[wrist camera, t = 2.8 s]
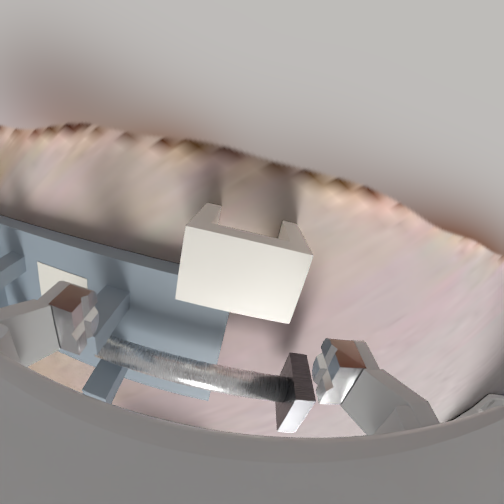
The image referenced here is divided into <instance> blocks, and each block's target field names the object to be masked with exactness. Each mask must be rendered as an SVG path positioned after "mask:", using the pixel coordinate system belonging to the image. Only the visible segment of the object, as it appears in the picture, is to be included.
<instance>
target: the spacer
mask: <svg viewBox="0 0 504 504" xmlns="http://www.w3.org/2000/svg"><path fill="white" fill-rule="evenodd" d="M221 207H222V206H220V205H215V204H211V203H206V204H205V205H204V206H203V208H202V209H201V210H200V211H199V212H198V213H197V214H196V215H195V216H194V217H193V218H192V219H191V221H190V222H189V223H188V224H187V225H186V227H185V233H184V239H183V246H182V252H181V259H180V266H179V273H178V281H177V288H176V296H175V299H177V300H181V301H185V302H189V303H193V304H197V305H201V306H206V307H210V308H214V309H218V310H223V311H227V312H232V313H236V314H241V315H246V316H251V317H256V318H260V319H265V320H271V321H276V322H281V323H286V324H289V323H290V321H291V318H292V315H293V313H294V310H295V307H296V304H297V302H298V299H299V296H300V293H301V291H302V288H303V285H304V282H305V279H306V276H307V273H308V270H309V267H310V265H311V262H312V259H313V254H312V252H311V250H310V248H309V246H308V244H307V242H306V240H305V238H304V236H303V234H302V232H301V230H300V228H299V226H298V224H295V223H291V222H287V221H282V225H281V229H280V232H279V236H278V239H277V238H273V237H269V236H265V235H260V234H256V233H252V232H248V231H243V230H239V229H235V228H230V227H226V226H222V225H218V221H219V217H220V212H221Z"/></svg>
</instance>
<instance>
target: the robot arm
mask: <svg viewBox="0 0 504 504" xmlns="http://www.w3.org/2000/svg"><path fill="white" fill-rule="evenodd" d="M97 302H98V300H97V293H96V292H95V291H93V290H90V289H87V288H84V287H81V286H78V285H75V284H72V283H69V282H66V281H59V282H57V283H56V284H55V285H54V286H53V287H52V288H50V289H49V290H48V291H47V292H46V293H45V294H43V295H42V296H41V297H40V298H39V299H38V300H35V299H32V300H28V301H25V302H21V303H17V304H13V305H9V306H6V307H2V308H0V504H504V395H496V394H489V395H487V396H486V397H485V398H483V399H482V400H481V401H480V402H479V403H478V404H476V405H475V406H474V407H473V408H471V409H470V410H468V411H467V412H465V413H464V414H462V415H460V416H459V417H457V418H456V419H454V420H452V421H448V422H444V423H439V421H438V419H437V417H436V415H435V413H434V411H433V409H432V408H431V406H430V404H429V402H428V401H426V400H425V399H424V398H422V397H421V396H419V395H418V394H417V393H415V392H414V391H412V390H411V389H410V388H408V387H407V386H405V385H404V384H403V383H401V382H400V381H398V380H397V379H396V378H394V377H393V376H392V375H390V374H389V373H387V372H386V371H385V370H383V369H379V367H378V365H377V363H376V361H375V359H374V357H373V355H372V353H371V351H370V349H369V347H368V346H367V344H366V342H364V341H355V340H351V341H350V340H339V339H329V338H326V339H325V340H324V341H323V344H322V346H321V349H322V353H321V354H319V355H318V356H317V357H316V359H315V361H314V364H313V369H312V376H313V380H314V382H315V383H316V384H317V385H318V387H317V389H316V393H317V397H318V401H319V404H335V405H341V407H342V408H343V409H344V410H345V411H346V412H347V413H348V415H349V416H350V417H351V418H352V419H353V420H354V421H355V422H356V423H357V425H358V426H359V427H360V428H361V429H362V430H363V431H364V432H365V433H366V434H367V435H365V436H352V437H332V438H293V437H272V436H259V435H249V434H240V433H232V432H224V431H218V430H211V429H206V428H200V427H195V426H190V425H185V424H180V423H176V422H171V421H167V420H163V419H159V418H155V417H151V416H148V415H144V414H141V413H137V412H134V411H130V410H127V409H124V408H121V407H118V406H115V405H112V404H109V403H106V402H104V401H101V400H98V399H95V398H93V397H90V396H88V395H85V394H83V393H80V392H78V391H75V390H73V389H71V388H68V387H66V386H64V385H62V384H60V383H57V382H55V381H53V380H51V379H49V378H47V377H45V376H43V375H41V374H39V373H37V372H35V371H33V370H31V369H29V368H28V366H30V365H32V364H34V363H35V362H37V361H39V360H41V359H43V358H45V357H47V356H49V355H51V354H52V353H54V352H56V351H58V350H60V348H61V349H63V350H66V351H68V352H71V353H74V354H77V355H80V354H81V352H82V351H83V350H84V348H85V347H86V345H87V339H88V338H90V337H93V335H94V334H95V332H96V330H97V327H98V323H99V312H98V311H97V309H96V308H95V305H96V303H97Z"/></svg>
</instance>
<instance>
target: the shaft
mask: <svg viewBox="0 0 504 504" xmlns="http://www.w3.org/2000/svg"><path fill="white" fill-rule="evenodd" d="M94 355H95V357H97V358H100V359H103V360H105V361H108V362H111V363H113V364H116V365H119V366H122V367H125V368H128V369H131V370H134V371H137V372H140V373H143V374H147V375H150V376H153V377H157V378H160V379H164V380H167V381H171V382H175V383H179V384H183V385H187V386H191V387H195V388H200V389H204V390H209V391H213V392H218V393H223V394H229V395H234V396H240V397H246V398H252V399H259V400H266V401H274V402H275V403H276V421H277V432H287V433H295V432H296V431H297V429H298V428H299V426H300V425H301V423H302V422H303V420H304V419H305V417H306V416H307V414H308V413H309V411H310V410H311V408H312V407H313V405H314V403H315V402H316V400H315V394H314V389H313V384H312V379H311V374H310V370H309V365H308V360H307V355H304V354H297V353H289V355H288V358H287V360H286V362H285V365H284V367H283V369H282V371H281V374H280V376H278V375H271V374H264V373H258V372H252V371H247V370H241V369H236V368H231V367H226V366H221V365H216V364H212V363H207V362H203V361H198V360H194V359H190V358H186V357H182V356H178V355H174V354H171V353H167V352H163V351H160V350H156V349H153V348H149V347H146V346H143V345H139V344H136V343H133V342H130V341H127V340H124V339H121V338H118V337H115V336H112V335H110V337H109V338H108V340H107V341H106V343H105V344H104V346H103V347H102V349H101V350H100V352H99V353H98V355H96V354H94Z"/></svg>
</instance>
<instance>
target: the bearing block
mask: <svg viewBox="0 0 504 504" xmlns="http://www.w3.org/2000/svg"><path fill="white" fill-rule="evenodd" d="M179 266H180V264H177V263H173V262H169V261H165V260H161V259H157V258H153V257H149V256H145V255H141V254H137V253H133V252H129V251H125V250H121V249H118V248H114V247H110V246H106V245H102V244H99V243H95V242H91V241H88V240H84V239H80V238H77V237H73V236H70V235H66V234H62V233H59V232H55V231H52V230H48V229H45V228H42V227H38V226H35V225H31V224H28V223H25V222H21V221H18V220H15V219H11V218H8V217H5V216H2V215H0V308H2V307H6V306H9V305H13V304H17V303H21V302H25V301H28V300H32V299H35V300H38V299H39V298H40V297H41V296H42V295H43V294H45V293H46V292H47V291H48V290H49V289H50V288H52V287H53V286H54V285H55V284H56V283H57V282H59V281H66V282H69V283H72V284H75V285H78V286H81V287H84V288H87V289H90V290H93V291H95V292H96V293H97V300H98V302H97V303H96V305H95V308H96V309H97V311H98V312H99V323H98V327H97V330H96V332H95V334H94V335H93V337H90V338H88V339H87V345H86V347H85V348H84V350H83V351H82V352H81V354H80V355H77V354H74V353H71V352H68V351H66V350H63V349H61V348H60V350H58V351H59V352H61V353H63V354H66V355H68V356H70V357H72V358H74V359H77V360H79V361H81V362H84V363H86V364H89V365H91V366H94V367H96V368H95V369H94V371H93V373H92V374H91V376H90V377H89V379H88V381H87V382H86V384H85V386H84V387H83V389H82V391H83V394H85V395H88V396H90V397H93V398H95V399H98V400H101V401H104V402H106V403H109V404H111V403H112V401H113V399H114V397H115V395H116V393H117V391H118V388H119V386H120V384H121V382H122V380H123V378H126V379H129V380H132V381H135V382H138V383H141V384H145V385H148V386H151V387H155V388H158V389H162V390H165V391H169V392H173V393H176V394H180V395H184V396H188V397H193V398H197V399H201V400H206V401H208V400H209V396H210V392H211V391H209V390H204V389H200V388H195V387H191V386H187V385H183V384H179V383H175V382H171V381H167V380H164V379H160V378H157V377H153V376H150V375H147V374H143V373H140V372H137V371H134V370H131V369H128V368H125V367H122V366H119V365H116V364H113V363H111V362H108V361H105V360H103V359H100V358H97V357H95V355H94V354H96V355H98V353H99V352H100V350H101V349H102V347H103V346H104V344H105V343H106V341H107V340H108V338H109V337H110V335H112V336H115V337H118V338H121V339H124V340H127V341H130V342H133V343H136V344H139V345H143V346H146V347H149V348H153V349H156V350H160V351H163V352H167V353H171V354H174V355H178V356H182V357H186V358H190V359H194V360H198V361H203V362H207V363H212V364H216V365H217V362H218V358H219V353H220V349H221V345H222V341H223V336H224V332H225V328H226V324H227V320H228V316H229V312H227V311H223V310H218V309H214V308H210V307H206V306H201V305H197V304H193V303H189V302H185V301H181V300H177V299H175V296H176V288H177V281H178V273H179Z"/></svg>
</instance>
